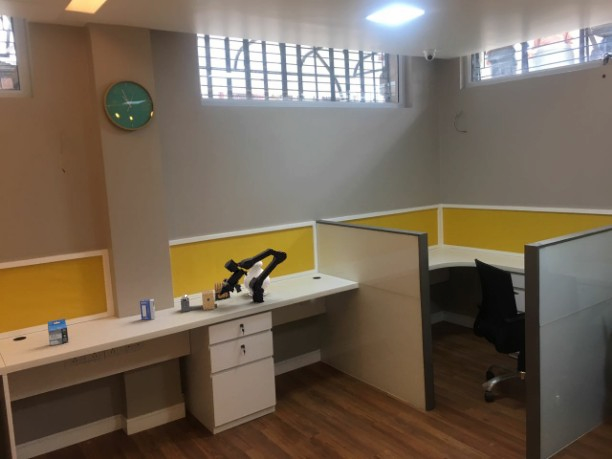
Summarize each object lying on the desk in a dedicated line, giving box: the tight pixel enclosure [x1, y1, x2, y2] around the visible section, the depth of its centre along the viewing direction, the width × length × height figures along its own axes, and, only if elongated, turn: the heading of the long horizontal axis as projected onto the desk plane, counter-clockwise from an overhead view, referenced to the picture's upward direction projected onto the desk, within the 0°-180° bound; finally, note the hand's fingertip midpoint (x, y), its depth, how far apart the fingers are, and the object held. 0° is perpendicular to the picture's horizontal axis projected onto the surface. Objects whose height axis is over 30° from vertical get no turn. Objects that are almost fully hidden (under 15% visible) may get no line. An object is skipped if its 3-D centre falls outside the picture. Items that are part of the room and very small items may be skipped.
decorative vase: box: [243, 260, 271, 297], centre depth 364 cm, size 18×18×25 cm
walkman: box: [139, 298, 157, 321], centre depth 319 cm, size 8×3×12 cm, turn 91°
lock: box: [201, 289, 216, 311], centre depth 336 cm, size 7×8×10 cm
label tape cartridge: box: [47, 318, 69, 347], centre depth 282 cm, size 9×4×12 cm, turn 121°
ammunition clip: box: [214, 280, 231, 302], centre depth 357 cm, size 11×2×12 cm, turn 125°
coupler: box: [180, 294, 218, 313], centre depth 335 cm, size 22×7×10 cm, turn 103°
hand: (219, 295), depth 337 cm, fingers closed
